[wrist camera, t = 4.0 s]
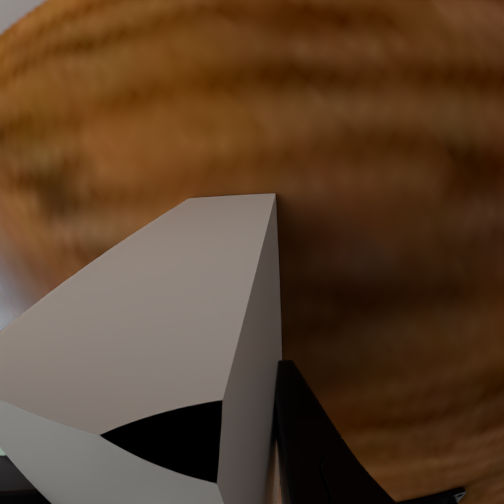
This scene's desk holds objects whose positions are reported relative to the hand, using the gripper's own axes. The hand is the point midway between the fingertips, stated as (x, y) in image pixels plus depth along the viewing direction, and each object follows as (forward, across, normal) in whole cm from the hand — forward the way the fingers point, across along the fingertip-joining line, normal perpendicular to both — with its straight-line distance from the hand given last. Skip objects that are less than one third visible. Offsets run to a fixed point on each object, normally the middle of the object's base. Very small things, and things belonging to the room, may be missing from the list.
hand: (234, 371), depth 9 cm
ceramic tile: (+2, 0, 0) cm, 2 cm away
